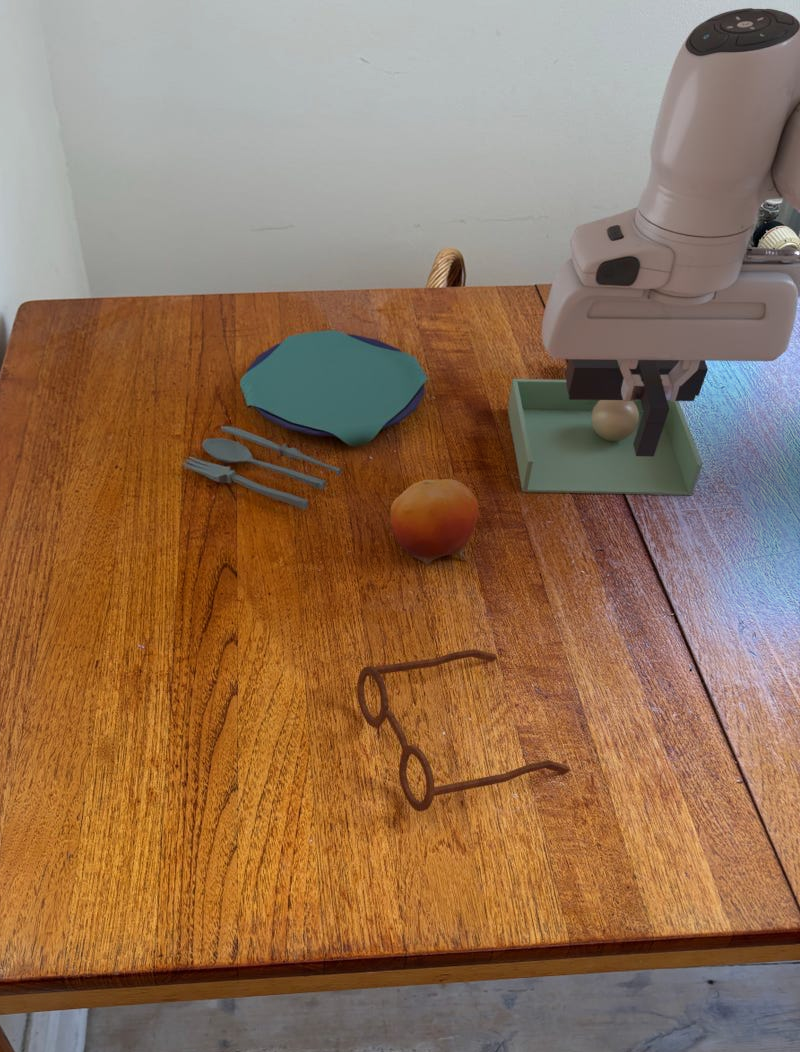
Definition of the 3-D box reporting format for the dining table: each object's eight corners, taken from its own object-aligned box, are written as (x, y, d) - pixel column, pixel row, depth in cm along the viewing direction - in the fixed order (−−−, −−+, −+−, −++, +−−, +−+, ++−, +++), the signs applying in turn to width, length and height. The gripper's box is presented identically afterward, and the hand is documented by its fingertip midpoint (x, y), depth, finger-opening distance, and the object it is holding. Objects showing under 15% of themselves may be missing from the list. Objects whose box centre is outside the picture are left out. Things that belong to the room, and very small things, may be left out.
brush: (563, 380, 99) (573, 332, 95) (690, 382, 99) (706, 334, 95) (577, 455, 93) (589, 407, 89) (712, 457, 93) (731, 409, 88)
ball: (613, 449, 112) (617, 405, 112) (646, 441, 108) (650, 395, 108) (579, 439, 110) (583, 394, 110) (612, 430, 105) (616, 384, 106)
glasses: (352, 698, 86) (354, 658, 82) (494, 657, 89) (502, 616, 85) (418, 826, 78) (424, 787, 74) (572, 775, 81) (584, 736, 77)
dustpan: (692, 495, 104) (702, 464, 102) (522, 492, 104) (528, 461, 102) (646, 366, 120) (654, 336, 118) (499, 363, 121) (503, 334, 118)
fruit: (424, 583, 93) (408, 496, 91) (387, 569, 100) (372, 488, 98) (502, 558, 95) (488, 473, 93) (461, 547, 103) (447, 467, 100)
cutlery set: (454, 379, 118) (456, 361, 117) (318, 527, 100) (318, 508, 99) (304, 330, 125) (304, 313, 123) (152, 461, 107) (150, 443, 106)
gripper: (807, 230, 84) (755, 378, 94) (553, 228, 85) (528, 376, 95) (831, 267, 80) (775, 419, 90) (564, 265, 80) (537, 417, 90)
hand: (647, 397), depth 92 cm, fingers closed on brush
